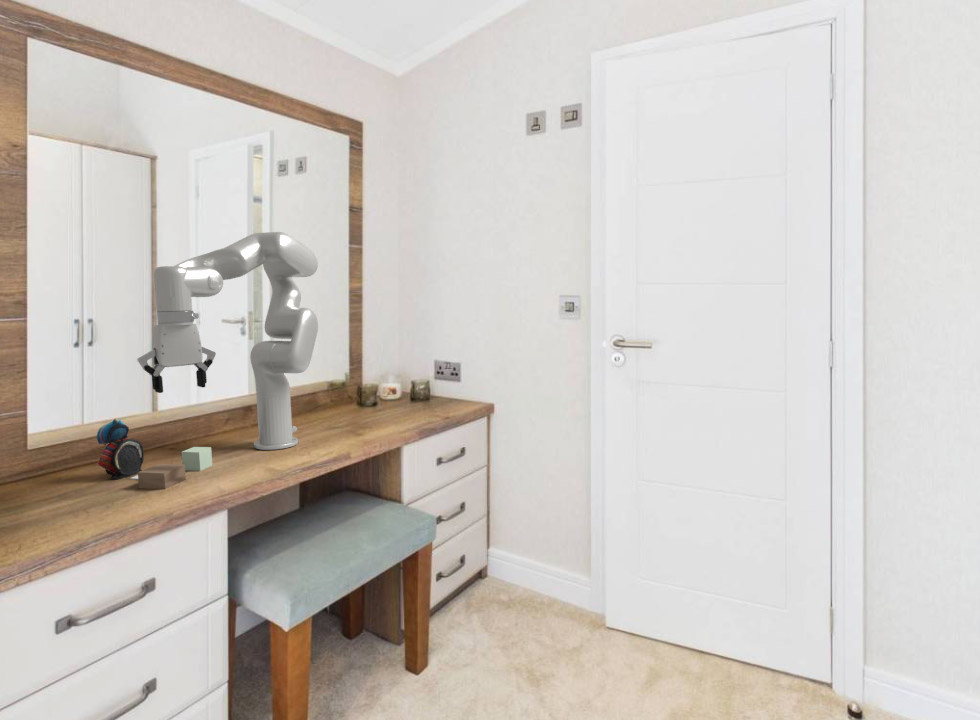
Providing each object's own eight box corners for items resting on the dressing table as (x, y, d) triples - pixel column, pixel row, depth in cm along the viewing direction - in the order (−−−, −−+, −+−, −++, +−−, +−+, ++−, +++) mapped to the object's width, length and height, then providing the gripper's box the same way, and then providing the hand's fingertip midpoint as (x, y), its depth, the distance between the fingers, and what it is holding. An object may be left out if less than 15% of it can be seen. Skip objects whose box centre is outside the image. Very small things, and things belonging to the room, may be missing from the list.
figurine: (131, 468, 152) (126, 412, 150) (149, 470, 149) (145, 414, 147) (92, 479, 142) (87, 420, 141) (111, 482, 140) (106, 422, 138)
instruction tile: (153, 469, 150) (153, 468, 150) (171, 470, 149) (170, 468, 149) (130, 479, 142) (130, 477, 142) (148, 480, 141) (148, 478, 141)
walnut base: (160, 479, 142) (159, 463, 142) (185, 480, 141) (184, 464, 141) (139, 488, 136) (137, 472, 135) (165, 489, 134) (164, 473, 134)
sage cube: (195, 464, 154) (194, 446, 153) (212, 465, 153) (211, 447, 153) (182, 470, 149) (181, 451, 149) (200, 471, 148) (199, 452, 148)
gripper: (205, 317, 145) (210, 383, 147) (129, 320, 133) (135, 392, 134) (218, 317, 141) (223, 386, 143) (140, 320, 128) (147, 396, 130)
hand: (180, 389), depth 139 cm, fingers open, 9 cm apart
